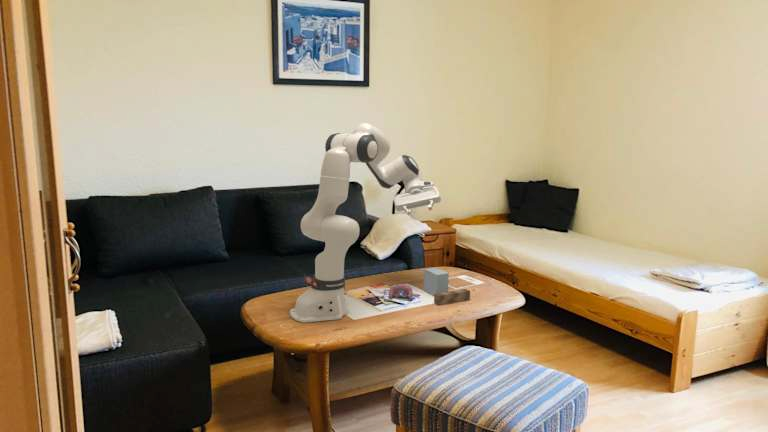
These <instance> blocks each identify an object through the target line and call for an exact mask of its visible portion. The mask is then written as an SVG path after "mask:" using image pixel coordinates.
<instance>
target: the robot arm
mask: <svg viewBox="0 0 768 432" xmlns="http://www.w3.org/2000/svg"><path fill="white" fill-rule="evenodd" d="M390 150H391V142H390V139H389V138H388V137H387V135H386V134H385V133H383V131H381V130H380V129H379V128H377V127H376V126H374V125H372V124H370V123H368V122H362V123H359V124H358V125H356V127H355V128H354V129H353V132H351V133H350V132H344V133H341V132H340V133H339V132H338V133H332V134H330V135H329V136H328V138H327V139H326V141H325V153H324V157H323V160H322V164H321V171H320V177H319V185H318V194H317V197H316V199H315V202H314V204H313V206H312V207H311V209H310V210H309V211H307V212H306V213H305V214H304V215H303V216H302V218H301V221H300V231H301V233H302V235H304V236H306V237H308V238H309V239H312V240H314V241H320V242H324V243H325V246H324V250H323V251H321V252H320V253H318V254H317V255H316V257H315V259H314V268H315V270H314V271H315V273H314V277H313V278H311V277H309V276H308V277H306V283H308V284H310V286H309V288H308V289H305V291H304V292H302V293H301V294H300V295H299V296H298V297H297V298H296V302H295V307H294V308H291V309H290V310H289V316H290V317H291V318H292V319H293V320H295V321H297V322H300V323H304V324H305V323H313V322H322V321H323V322H325V321H335V320H342V319H343V316H345V315H346V314H348V312H349V311H348V306H347V304H346V303H347V302H346V296H345V295H346V294H345V290H346V277H345V257H346V254H347V252H348V250H349V248H350V247H351V246H352V245H354V244H355V243H356V241H357V240H358V239H359V236H360V231H361V229H360V225H359V223H358V221H356V220H355V219H354V218H351V217H348V216H345V215H339V214H336V211H337V209H338V207H339V206H340V205H341V204H343V203H345V202H346V201H347V199H348V195H349V186H350V175H351V163H365V164H366V166H367V168H368V169H369V171H370V172H371V173H372V175H373V176H374V178H375V179H376V181H377V182H378V184H379V186H380V187H382V188H384V189H391V188H392V187H394V186H395V185H396V184H398V183H400V182H402V183H403V184H404V185H403V186H404V191H405V192H402V193H400V194H399V193H397V194H395V195H394V196H393V198H392V200H393V203H394V208H395V211H396V212H401V211H404V212H405V213H406V214H407V216H411V214H412V213H411V212H412V211H411V210H412V209H416V208H419V207H424V206H428V211H433V206H434V205H435V204H438V203H440V202H441V201H442V199H441V194H440V192H439V189H438V188H437V187H436V186H435V184H434V181H423V176H422V173H421V171H420V168H419V165H418V164H417V162H416V161H415V159H414V158H413V157H411V156H410V155H406V154H402V155H401V156H398V157H396V158H395V159H394V160H392V161H390V162H389V163H388V164H386V165H383V166H381V165H380V163H382V161H383V160H384V159H385V158H387V157H388V154H389V153H390Z"/></svg>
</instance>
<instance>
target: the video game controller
mask: <svg viewBox="0 0 768 432" xmlns="http://www.w3.org/2000/svg"><path fill="white" fill-rule="evenodd" d="M400 292H402V293H401V294H400ZM400 295H401V297H402V298H403V297H404V298H403V299H406V298H407V297H408V299H409V301H412V299H413V288H412V287H411V286H410V285H409V284H405V283H397V284H393V285H391V287H390V288H389V292H388V298H389V300H392V299H393V296H394V297H395V298H400ZM391 298H392V299H391Z"/></svg>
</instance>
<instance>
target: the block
mask: <svg viewBox="0 0 768 432" xmlns="http://www.w3.org/2000/svg"><path fill="white" fill-rule="evenodd" d="M423 273H424V276H423V277H424V278H423V292H425V293H427V294H429V295H431V296H433V297H434V294H437V293H443V292H449V287H448V285H449V280H450V279H449V278H450V277H449V275H450V274H449V272H447V271H445V270H443V269H440V268H438V267H429V268H424V270H423ZM448 279H449V280H448Z"/></svg>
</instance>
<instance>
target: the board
mask: <svg viewBox="0 0 768 432" xmlns="http://www.w3.org/2000/svg"><path fill="white" fill-rule="evenodd" d="M433 297H434V298H433V300H434V301H433V303H434V305H437V306H443V305H449V304H455V303H460V302H467V301H470V299H471V290H469V289H467V288H463V289H458V290H451V291H448V292H443V293H437V294H434V296H433Z"/></svg>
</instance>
